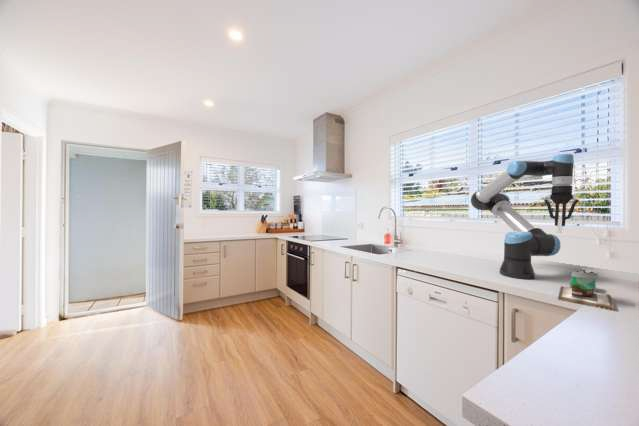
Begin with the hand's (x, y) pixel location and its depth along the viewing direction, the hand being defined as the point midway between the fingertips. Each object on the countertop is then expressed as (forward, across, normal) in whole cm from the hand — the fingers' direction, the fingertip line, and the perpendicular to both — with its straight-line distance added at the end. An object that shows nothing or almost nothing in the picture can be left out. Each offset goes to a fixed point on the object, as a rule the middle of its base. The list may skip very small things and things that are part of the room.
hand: (559, 232), depth 130 cm
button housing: (+24, +9, -8) cm, 27 cm away
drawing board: (+24, +10, -26) cm, 37 cm away
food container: (+23, +10, -26) cm, 36 cm away
